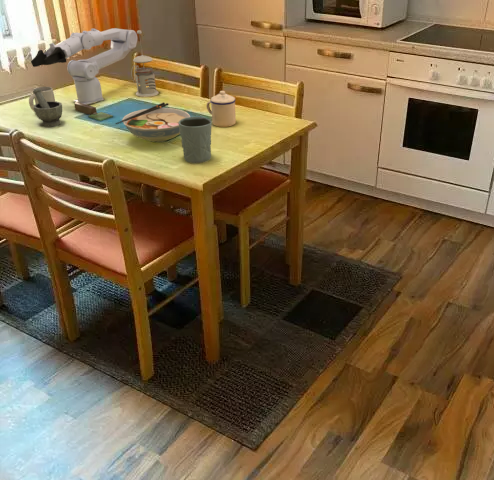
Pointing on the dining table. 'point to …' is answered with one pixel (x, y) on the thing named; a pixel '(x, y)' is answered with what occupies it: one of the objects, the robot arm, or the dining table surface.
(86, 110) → the spatula
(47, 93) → the cup
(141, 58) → the french press
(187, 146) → the grey embossed tumbler
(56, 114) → the mortar and pestle
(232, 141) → the dining table surface
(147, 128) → the ramen bowl
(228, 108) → the teacup with lid
